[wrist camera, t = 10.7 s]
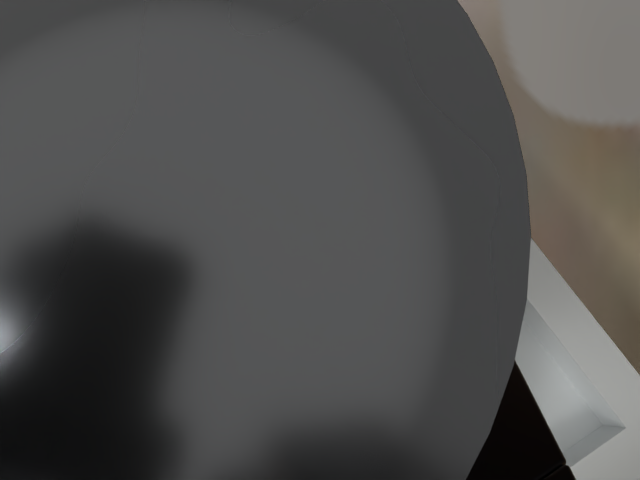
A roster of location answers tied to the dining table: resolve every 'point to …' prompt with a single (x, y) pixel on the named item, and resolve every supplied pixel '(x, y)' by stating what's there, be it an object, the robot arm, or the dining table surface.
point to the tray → (578, 378)
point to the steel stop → (254, 240)
